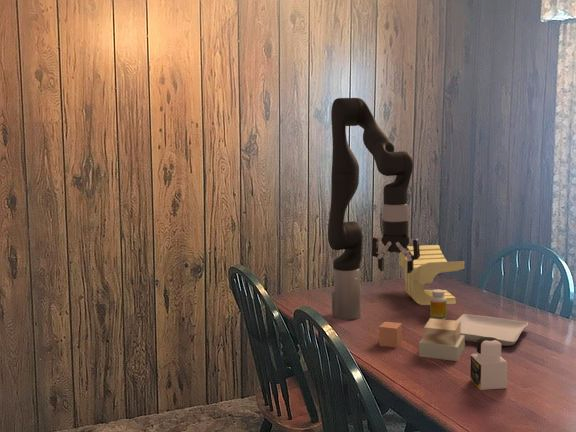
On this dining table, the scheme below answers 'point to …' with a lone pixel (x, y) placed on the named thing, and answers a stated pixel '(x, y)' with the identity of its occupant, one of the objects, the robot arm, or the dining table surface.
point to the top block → (442, 331)
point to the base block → (442, 350)
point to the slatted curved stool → (427, 272)
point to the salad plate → (491, 328)
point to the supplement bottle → (438, 305)
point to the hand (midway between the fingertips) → (395, 271)
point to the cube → (390, 334)
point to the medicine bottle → (489, 365)
